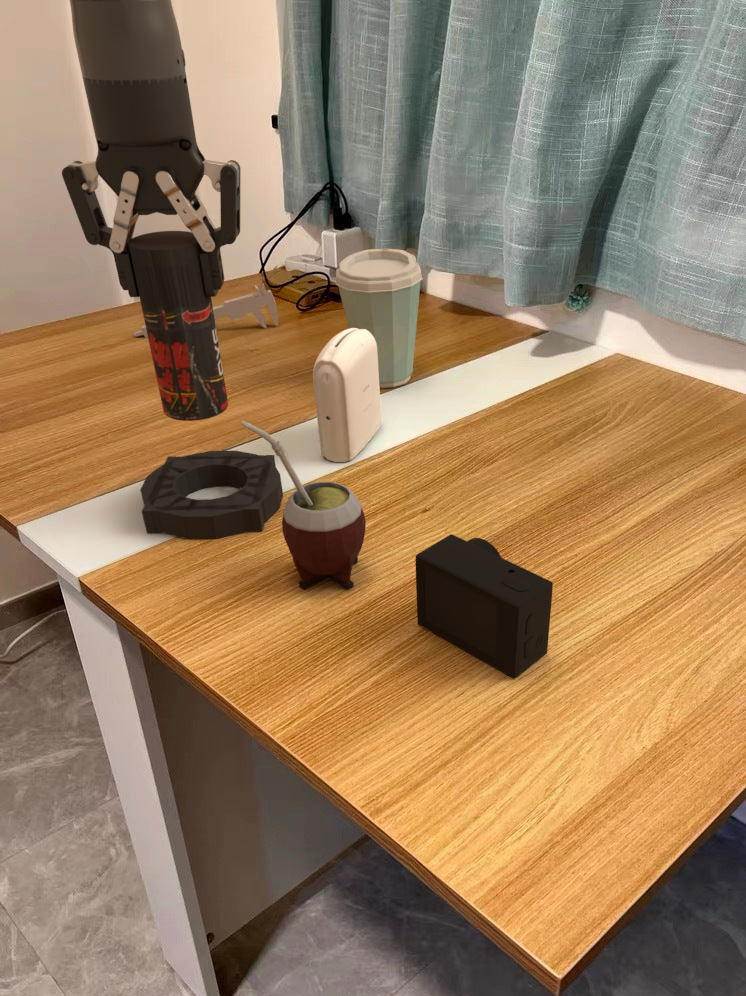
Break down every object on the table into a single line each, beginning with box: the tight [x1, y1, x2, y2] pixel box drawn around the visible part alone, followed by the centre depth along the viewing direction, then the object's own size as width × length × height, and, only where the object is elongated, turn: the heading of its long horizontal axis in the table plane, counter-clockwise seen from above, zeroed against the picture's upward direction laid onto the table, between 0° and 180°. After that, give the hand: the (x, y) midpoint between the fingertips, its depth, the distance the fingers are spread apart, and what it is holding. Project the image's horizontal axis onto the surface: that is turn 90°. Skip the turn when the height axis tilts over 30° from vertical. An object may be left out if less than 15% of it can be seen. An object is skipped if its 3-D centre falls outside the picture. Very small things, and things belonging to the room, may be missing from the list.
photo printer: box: [312, 328, 382, 463], centre depth 96 cm, size 10×4×12 cm, turn 162°
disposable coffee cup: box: [335, 248, 424, 389], centre depth 110 cm, size 11×11×15 cm
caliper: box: [133, 282, 279, 338], centre depth 127 cm, size 20×1×6 cm, turn 102°
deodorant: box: [128, 230, 229, 422], centre depth 79 cm, size 6×6×15 cm
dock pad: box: [140, 450, 284, 540], centre depth 88 cm, size 13×13×2 cm
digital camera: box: [415, 533, 554, 680], centre depth 70 cm, size 10×5×7 cm, turn 48°
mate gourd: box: [241, 419, 367, 591], centre depth 74 cm, size 8×8×15 cm
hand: (175, 293), depth 77 cm, fingers closed on deodorant, 6 cm apart
